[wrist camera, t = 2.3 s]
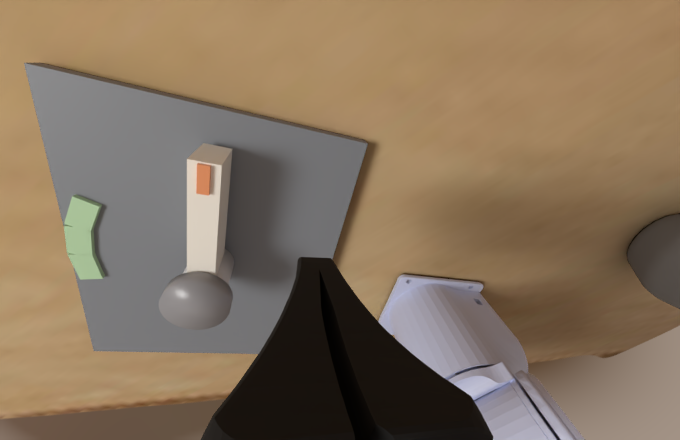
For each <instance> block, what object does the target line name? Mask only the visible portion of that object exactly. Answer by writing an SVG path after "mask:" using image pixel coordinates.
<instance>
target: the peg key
mask: <svg viewBox="0 0 680 440" xmlns="http://www.w3.org/2000/svg"><path fill="white" fill-rule="evenodd" d="M231 161H232V149H231V148H226V147H221V146H216V145H211V144H206V143H203V144H202V145H201V146H200V147H199V148H198V149H197V150H196V151H195V152H194V153H193V154H191V155H190V156H189V157H188V158H187V266H186V268H185V270H184V272H183V274H181V275H178V276H176V277H175V278H173V279H172V280H171V281H170V282H169V283H168V284H167V286H166V288H165V290H164V292H163V294H162V296H161V297H160V300H159V310H160V312H161V314H162V316H163V317H164V318H165V319H166V320H167V321H169V322H170V323H172V324H174V325H176V326H178V327H181V328H185V329H191V330H203V329H209V328H212V327H215V326H217V325H219V324H221V323H222V322H223V321H225V319H226V318H227V317H228V315H229V313H230V309H231V305H232V300H233V292H232V290H231V288H230V286H229V281H230V277H231V274H232V270H233V266H234V259H233V256H232V255H231V253H230V252H229V251H227V250H226V249H225V238H226V225H227V212H228V199H229V187H230V174H231Z"/></svg>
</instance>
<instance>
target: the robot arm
mask: <svg viewBox="0 0 680 440" xmlns="http://www.w3.org/2000/svg"><path fill="white" fill-rule="evenodd" d="M407 280H408V281H407ZM482 289H483V285H482V284H481V283H480V282H472V281H463V280H453V279H444V278H434V277H424V276H415V275H405V274H404V275H401V276H399V278H398V279H397V282H396V284H395V286H394V288H393V290H392V292H391V294H390V297H389V299H388V301H387V303H386V305H385V307H384V310H383V312H382V314H381V316H380V318H379V320H378V321H377V320H376V319H375V318H374V317H373V316H372V314H371V313H370V312H369V311H368V310H367V308H366V307H365V306H364V305H363V304H362V302H361V301H360V300H359V299H358V297H357V296H356V295H355V293H354V292H353V290H352V289H351V288H350V286H349V285H348V284H347V282H346V281H345V279H344V278H343V276H342V275H341V273H340V271H339V270H338V268H337V267H336V265H335V263H334V262H333V260H332V259H331V258H317V257H300V258H299V259H298V262H297V270H296V278H295V281H294V284H293V287H292V290H291V293H290V295H289V298H288V300H287V302H286V305H285V307H284V309H283V311H282V314H281V316H280V318H279V320H278V322H277V324H276V325H275V327H274V329H273V331H272V333H271V334H270V336H269V338H268V339H267V341H266V343H265V345H264V346H263V348H262V349H261V351H260V353H259V354H258V356H257V357H256V359H255V360H254V362H253V363H252V364H251V366H250V367H249V369H248V370H247V372H246V373H245V374H244V376H243V377H242V379H241V380H240V382H239V383H238V384H237V386H236V387H235V388H234V389H233V391H232V392H231V393H230V395H229V396H228V397H227V398H226V400H225V401H224V402H223V403H222V405H221V406H220V407H219V408H218V410H217V411H216V412H215V413H214V415H213V416H212V419H211V420H210V423H209V424H208V426H207V428H206V430H205V432H204V434H203V437H202V438H201V440H585V439H584V438H583V436H582V435H581V434H580V432H579V431H578V430H577V429H576V427H575V426H574V425H573V423H572V422H571V421H570V420H569V418H568V417H567V416H566V414H565V413H564V412H563V410H562V409H561V408H560V407H559V405H558V404H557V403H556V401H555V400H554V399H553V398H552V396H551V395H550V394H549V393H548V391H547V390H546V389H545V387H544V386H543V385H542V384H541V382H540V381H539V380H538V379H537V377H536V376H534V375H532V374H529V373H528V363H527V359H526V355H525V352H524V350H523V348H522V346H521V344H520V342H519V341H518V339H517V338H516V337H515V335H514V334H513V333H512V332H511V330H510V329H509V328H508V327H507V326H506V324H505V323H504V322H503V321H502V319H501V318H500V317H499V316H498V314H497V313H496V312H495V311H494V310H493V308H492V307H491V306H490V305H489V303H488V302H487V301H486V300H485V299H484V297H483V296H482V295H481V294H480V292H481V290H482ZM392 335H395V338H396V339H395V338H394V337H393V336H392ZM524 388H525V389H524Z"/></svg>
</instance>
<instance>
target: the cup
mask: <svg viewBox="0 0 680 440" xmlns="http://www.w3.org/2000/svg"><path fill="white" fill-rule="evenodd" d="M627 257H628V262H629V264H630V265H631V267H632V269H633V270H634V272H635V274H636V275H637V277H638V278H639V280H640V282H641V283H642V285H643V286H644V287H645V288H646V289H647V290H648V291H649V292H650V293H652V294H653V295H654V296H655V297H657V298H658V299H660V300H662V301H664V302H666V303H668V304H670V305H672V306H674V307H676V308H679V309H680V214H676V215H671V216H666V217H664V218H662V219H659V220H657V221H655V222H653V223H652V224H650V225H649V226H648V227H646V228H645V229H643V230H642V231H641V232H640V233H639V234H638V235H637V236H636V237H635V239H634V240H633V241H632V243H631V244H630V246H629V249H628V252H627Z"/></svg>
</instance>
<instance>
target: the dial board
mask: <svg viewBox="0 0 680 440" xmlns="http://www.w3.org/2000/svg"><path fill="white" fill-rule="evenodd" d="M24 64H25V69H26V73H27V77H28V81H29V85H30V89H31V93H32V98H33V102H34V106H35V110H36V114H37V118H38V122H39V126H40V131H41V135H42V139H43V143H44V147H45V151H46V155H47V159H48V164H49V168H50V172H51V176H52V180H53V184H54V188H55V192H56V197H57V201H58V205H59V209H60V213H61V217H62V221H63V225H64V231H65V240H66V248H67V253H69V254H68V257H69V258H70V260H71V262H72V264H73V267H74V271H75V275H76V279H77V283H78V287H79V292H80V296H81V300H82V304H83V308H84V312H85V316H86V320H87V325H88V329H89V333H90V337H91V341H92V345H93V349H94V351H122V352H181V353H241V354H259V353H260V351H261V349H262V348H263V346H264V345H265V343H266V341H267V339H268V338H269V336H270V334H271V333H272V331H273V329H274V327H275V325H276V324H277V322H278V320H279V318H280V316H281V314H282V311H283V309H284V307H285V305H286V302H287V300H288V298H289V295H290V293H291V290H292V287H293V284H294V281H295V278H296V270H297V262H298V259H299V258H300V257H317V258H331V259H333V256H334V252H335V249H336V246H337V243H338V239H339V236H340V233H341V230H342V226H343V223H344V220H345V217H346V213H347V210H348V207H349V204H350V200H351V197H352V194H353V191H354V187H355V184H356V181H357V177H358V174H359V171H360V168H361V164H362V161H363V158H364V155H365V151H366V148H367V145H368V143H367V142H366V141H365V140H362V139H358V138H354V137H350V136H345V135H341V134H337V133H333V132H329V131H324V130H320V129H316V128H312V127H308V126H303V125H299V124H295V123H291V122H287V121H282V120H278V119H274V118H270V117H266V116H261V115H257V114H253V113H249V112H245V111H241V110H236V109H232V108H228V107H224V106H220V105H215V104H211V103H207V102H203V101H199V100H194V99H190V98H186V97H182V96H178V95H173V94H169V93H165V92H161V91H157V90H153V89H148V88H144V87H140V86H136V85H132V84H127V83H123V82H119V81H115V80H111V79H106V78H102V77H98V76H94V75H90V74H85V73H81V72H77V71H73V70H69V69H65V68H60V67H56V66H52V65H48V64H44V63H24ZM203 143H206V144H211V145H216V146H221V147H226V148H231V149H232V161H231V174H230V187H229V199H228V212H227V225H226V238H225V249H226V250H227V251H229V252H230V253H231V255H232V256H233V259H234V266H233V270H232V274H231V277H230V281H229V286H230V288H231V290H232V292H233V300H232V305H231V309H230V313H229V315H228V317H227V318H226V319H225V321H223V322H222V323H221V324H219V325H217V326H215V327H212V328H209V329H203V330H191V329H185V328H181V327H178V326H176V325H174V324H172V323H170V322H169V321H167V320H166V319H165V318H164V317H163V316H162V314H161V312H160V310H159V300H160V297H161V296H162V294H163V292H164V290H165V288H166V286H167V284H168V283H169V282H170V281H171V280H172V279H173V278H175V277H176V276H178V275H181V274H183V272H184V270H185V268H186V266H187V158H188V157H189V156H190V155H191V154H193V153H194V152H195V151H196V150H197V149H198V148H199V147H200V146H201V145H202V144H203Z"/></svg>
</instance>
